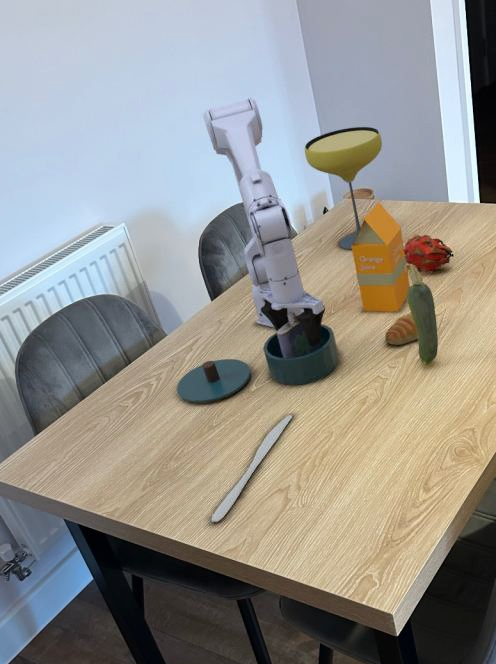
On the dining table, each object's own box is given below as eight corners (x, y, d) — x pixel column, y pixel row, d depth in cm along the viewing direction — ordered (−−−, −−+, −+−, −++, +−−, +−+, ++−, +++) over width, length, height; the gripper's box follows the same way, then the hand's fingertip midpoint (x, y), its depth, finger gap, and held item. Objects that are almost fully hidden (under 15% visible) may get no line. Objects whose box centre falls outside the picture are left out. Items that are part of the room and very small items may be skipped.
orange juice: (363, 311, 158) (345, 220, 147) (377, 291, 165) (361, 202, 153) (398, 311, 155) (382, 218, 144) (411, 291, 161) (397, 200, 150)
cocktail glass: (311, 248, 192) (288, 149, 177) (361, 221, 200) (343, 124, 186) (360, 261, 180) (339, 155, 165) (411, 231, 188) (396, 128, 174)
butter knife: (203, 518, 112) (219, 520, 111) (281, 414, 132) (296, 414, 130) (204, 521, 113) (220, 523, 111) (282, 417, 132) (297, 417, 131)
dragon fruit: (404, 272, 174) (453, 282, 169) (390, 265, 166) (441, 275, 161) (414, 235, 172) (463, 244, 168) (400, 226, 165) (451, 236, 160)
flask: (293, 376, 141) (279, 326, 135) (283, 372, 143) (268, 322, 137) (327, 352, 146) (315, 303, 140) (317, 349, 148) (304, 300, 142)
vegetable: (445, 359, 137) (431, 256, 125) (439, 372, 134) (424, 268, 122) (421, 359, 138) (405, 257, 127) (415, 372, 135) (398, 269, 124)
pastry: (401, 351, 142) (397, 333, 140) (377, 342, 147) (374, 324, 145) (436, 329, 146) (433, 312, 144) (412, 321, 151) (410, 304, 149)
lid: (163, 395, 146) (156, 375, 143) (217, 358, 154) (210, 338, 151) (212, 412, 137) (205, 392, 135) (266, 372, 145) (260, 352, 143)
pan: (256, 376, 145) (249, 351, 142) (302, 342, 152) (295, 318, 149) (307, 391, 137) (300, 365, 134) (353, 354, 144) (347, 329, 141)
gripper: (239, 278, 136) (259, 343, 144) (297, 289, 128) (315, 358, 135) (266, 261, 140) (283, 325, 148) (324, 271, 131) (339, 339, 139)
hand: (300, 340), depth 142 cm, fingers open, 7 cm apart
